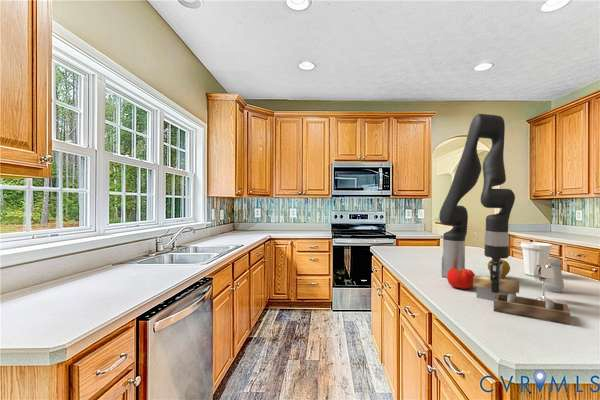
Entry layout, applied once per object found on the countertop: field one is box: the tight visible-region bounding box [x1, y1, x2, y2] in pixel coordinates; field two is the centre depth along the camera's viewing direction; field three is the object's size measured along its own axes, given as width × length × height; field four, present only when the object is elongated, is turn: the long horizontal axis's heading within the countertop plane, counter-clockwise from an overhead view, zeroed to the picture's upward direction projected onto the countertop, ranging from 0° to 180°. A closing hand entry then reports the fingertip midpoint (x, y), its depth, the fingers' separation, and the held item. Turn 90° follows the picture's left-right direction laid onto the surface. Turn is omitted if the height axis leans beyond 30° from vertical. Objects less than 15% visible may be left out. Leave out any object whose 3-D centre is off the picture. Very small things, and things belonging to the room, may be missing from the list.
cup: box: [520, 241, 553, 278], centre depth 155 cm, size 12×12×15 cm
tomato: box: [446, 268, 476, 290], centre depth 133 cm, size 11×11×8 cm
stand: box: [476, 287, 517, 301], centre depth 117 cm, size 12×4×4 cm, turn 54°
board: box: [473, 274, 521, 294], centre depth 117 cm, size 14×5×3 cm, turn 54°
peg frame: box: [493, 293, 571, 326], centre depth 103 cm, size 19×10×4 cm, turn 54°
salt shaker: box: [545, 257, 565, 294], centre depth 128 cm, size 6×6×13 cm
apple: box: [487, 258, 511, 279], centre depth 150 cm, size 9×9×9 cm
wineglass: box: [533, 265, 554, 301], centre depth 118 cm, size 6×6×12 cm
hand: (495, 290), depth 117 cm, fingers closed on board, 5 cm apart
